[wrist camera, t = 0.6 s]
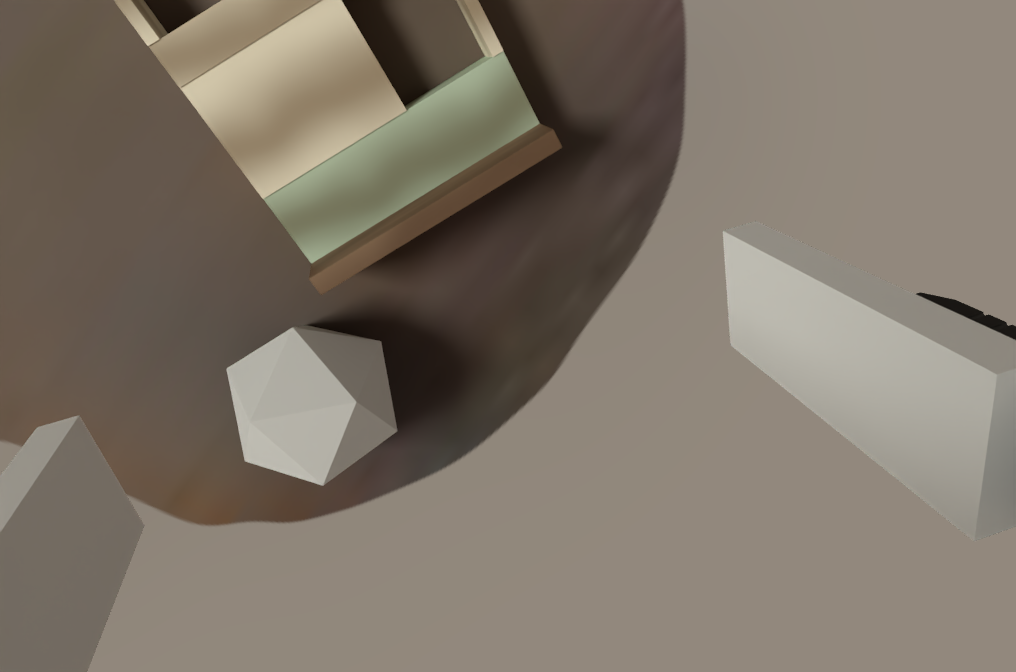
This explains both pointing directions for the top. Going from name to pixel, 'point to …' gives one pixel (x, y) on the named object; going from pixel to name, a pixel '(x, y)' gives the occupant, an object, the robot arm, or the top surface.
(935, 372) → the robot arm
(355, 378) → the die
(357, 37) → the trap board
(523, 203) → the top surface
